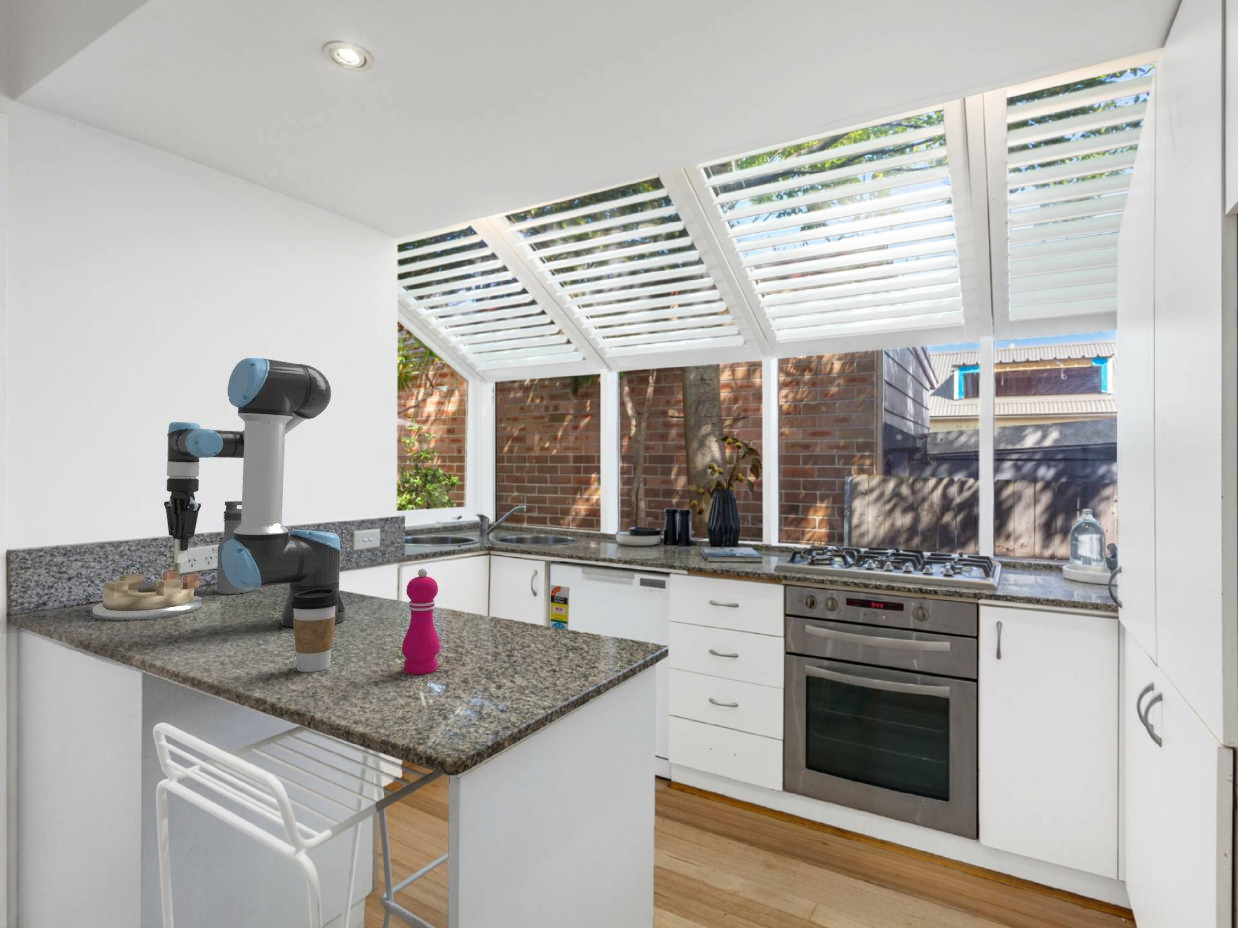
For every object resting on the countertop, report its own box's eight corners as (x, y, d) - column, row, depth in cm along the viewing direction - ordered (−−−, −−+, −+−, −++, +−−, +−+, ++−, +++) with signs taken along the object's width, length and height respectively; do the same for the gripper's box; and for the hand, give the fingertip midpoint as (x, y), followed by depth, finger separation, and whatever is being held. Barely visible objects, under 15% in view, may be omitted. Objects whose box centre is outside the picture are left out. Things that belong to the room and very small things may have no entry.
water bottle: (245, 587, 217) (247, 500, 217) (260, 591, 211) (262, 501, 211) (210, 592, 209) (212, 501, 209) (225, 596, 203) (227, 502, 203)
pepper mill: (419, 677, 129) (421, 572, 129) (393, 671, 133) (395, 568, 133) (447, 668, 135) (449, 567, 135) (422, 662, 139) (424, 564, 139)
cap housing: (212, 611, 182) (212, 598, 182) (100, 625, 165) (100, 610, 165) (189, 598, 199) (190, 586, 199) (86, 609, 182) (86, 596, 182)
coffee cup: (345, 666, 135) (347, 590, 135) (306, 676, 128) (308, 597, 128) (319, 659, 140) (321, 586, 140) (280, 669, 133) (282, 592, 133)
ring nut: (131, 612, 168) (132, 586, 169) (85, 604, 177) (86, 579, 177) (209, 599, 187) (210, 575, 187) (164, 592, 195) (165, 569, 195)
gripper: (211, 478, 190) (208, 562, 190) (181, 476, 196) (179, 558, 196) (184, 478, 183) (181, 565, 183) (154, 476, 189) (152, 561, 189)
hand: (180, 561), depth 189 cm, fingers closed
